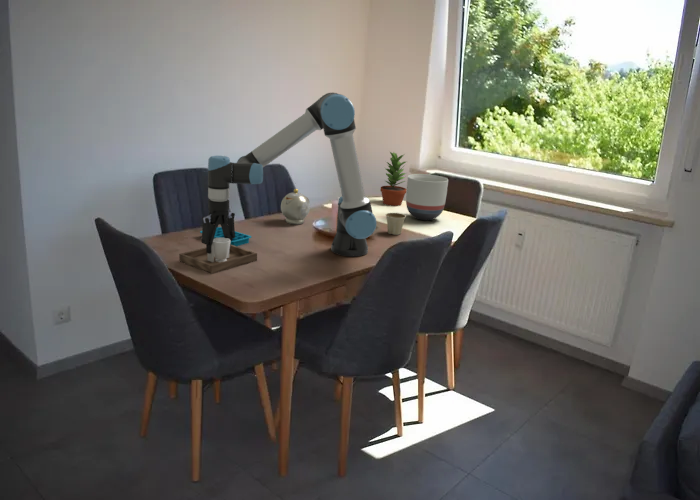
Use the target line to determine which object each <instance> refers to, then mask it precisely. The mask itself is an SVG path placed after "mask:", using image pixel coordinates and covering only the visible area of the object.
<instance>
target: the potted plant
mask: <svg viewBox="0 0 700 500" xmlns="http://www.w3.org/2000/svg"><path fill="white" fill-rule="evenodd" d="M388 151H389V153H390V156H391V157H389V160H390V162H391V163H390V162H388V161H387V162H386V163H387V166H388V168H386V167H384V168H385V170H386V171H387V172H388V173H387V172H385V175H386V176H387V177H388V178H387V180H385V183H387V184H388V185H382V186H380V192H381V197H382V203H383V204H384V205H385V204H386V206H390V205H391V206H390V207H392V206H393V207H399V206H401V205H402V203H403V200H404V198H405V195H406V192H407V187H406V188H405V187H403V186H399V185H400V184H403V183H404V182H406V180H404V181H401V180H403V179H405V178H406V176H405V175H406V174H407V172H406V173H405V172H403V171H404V167H405V165H404V164H405V163H407V161H402V162H400V160H401V159H402V158H403V157H404V156H405V154H402V155H400V156H398V153H396V152H395V151H393V152H392V151H390V150H388ZM401 166H402V167H401ZM399 181H400V182H399ZM397 185H398V186H397ZM398 205H399V206H398Z"/></svg>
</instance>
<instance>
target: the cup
mask: <svg viewBox="0 0 700 500" xmlns="http://www.w3.org/2000/svg"><path fill="white" fill-rule="evenodd" d="M230 243H231V240H230V239H228V238H214V239H213V243H212V245H214V257H215V258H216V259H215V261H216V262H224V261H227V258H228V254H229V248H230Z"/></svg>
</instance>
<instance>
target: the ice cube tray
mask: <svg viewBox="0 0 700 500" xmlns="http://www.w3.org/2000/svg"><path fill="white" fill-rule="evenodd" d="M199 233H200V234H202V230H200V231H199ZM214 238H225V237H224V234H223V231H222V227H221V226H218V227H217V228H216V232H215V236H214ZM251 238H252V235H249V234H246V233H242V232H239V231H235V238H232V239H233V241H231V245H234V246H237V247H239V246H243V245H247V244H249V243H250V239H251Z"/></svg>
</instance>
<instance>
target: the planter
mask: <svg viewBox="0 0 700 500" xmlns="http://www.w3.org/2000/svg"><path fill="white" fill-rule="evenodd" d="M448 186H449V179H448V177H445V176H439V175H435V174H426V173H425V174H424V173H413V174H409V175H407V179H406V189H407V190H406V194H405V195H406V197H405V198H406V199H405V203H406V209H407V212H408V213H409V214H410V215H411V216H412V217H414V218H415V219H417V220H420V221H433V220H435V219H436V218H438V217H440V215H441V214H442V213H443V211H444V209H445V205H446V199H447V194H448Z"/></svg>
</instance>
